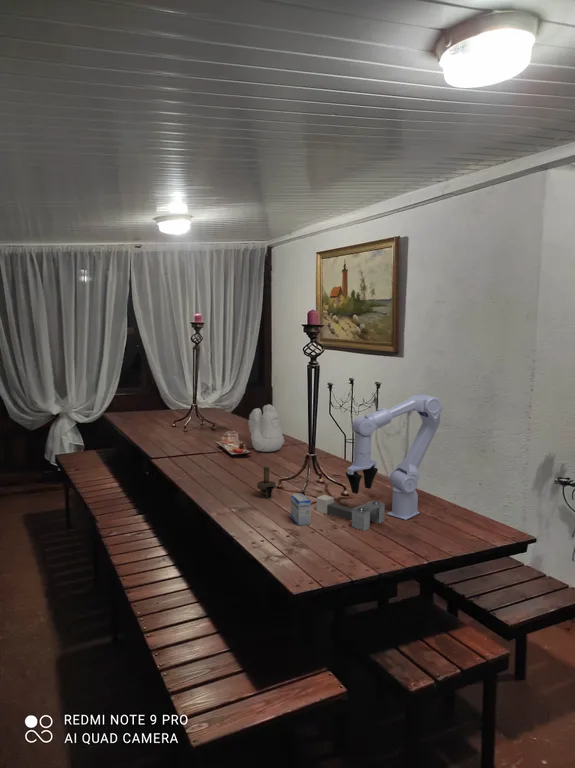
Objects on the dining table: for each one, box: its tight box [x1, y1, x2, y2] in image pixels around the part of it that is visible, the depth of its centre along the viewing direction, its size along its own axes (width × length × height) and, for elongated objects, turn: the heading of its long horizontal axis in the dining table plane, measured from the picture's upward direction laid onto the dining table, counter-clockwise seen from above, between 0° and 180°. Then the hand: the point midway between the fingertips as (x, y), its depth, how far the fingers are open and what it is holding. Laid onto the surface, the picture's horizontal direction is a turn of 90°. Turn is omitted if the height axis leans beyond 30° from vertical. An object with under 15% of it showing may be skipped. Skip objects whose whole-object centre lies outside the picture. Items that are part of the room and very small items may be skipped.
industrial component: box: [256, 465, 277, 499], centre depth 220 cm, size 9×7×12 cm
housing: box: [351, 500, 386, 532], centre depth 191 cm, size 12×5×7 cm, turn 137°
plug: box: [315, 494, 353, 521], centre depth 200 cm, size 4×17×5 cm, turn 47°
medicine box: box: [290, 493, 312, 526], centre depth 193 cm, size 8×4×9 cm, turn 21°
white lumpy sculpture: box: [247, 403, 285, 453], centre depth 294 cm, size 25×16×25 cm, turn 25°
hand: (361, 490), depth 195 cm, fingers open, 7 cm apart
